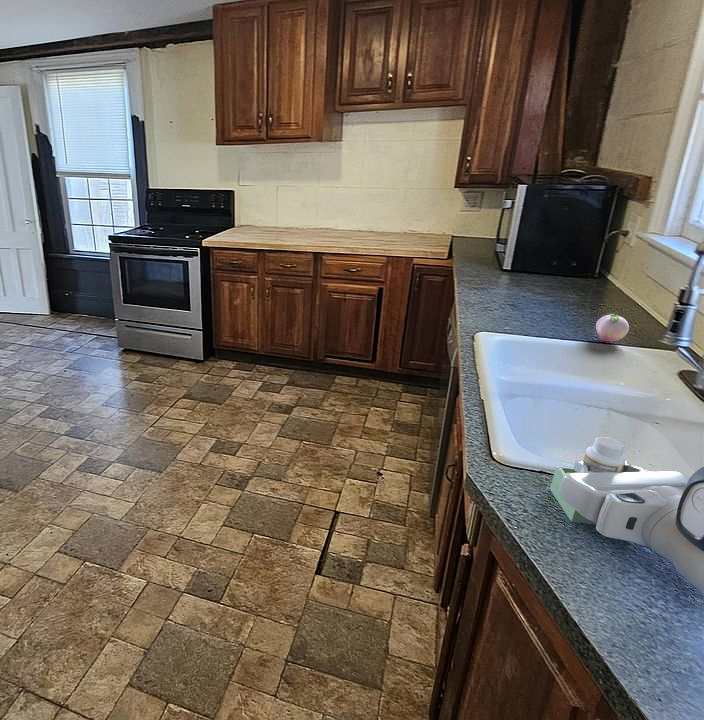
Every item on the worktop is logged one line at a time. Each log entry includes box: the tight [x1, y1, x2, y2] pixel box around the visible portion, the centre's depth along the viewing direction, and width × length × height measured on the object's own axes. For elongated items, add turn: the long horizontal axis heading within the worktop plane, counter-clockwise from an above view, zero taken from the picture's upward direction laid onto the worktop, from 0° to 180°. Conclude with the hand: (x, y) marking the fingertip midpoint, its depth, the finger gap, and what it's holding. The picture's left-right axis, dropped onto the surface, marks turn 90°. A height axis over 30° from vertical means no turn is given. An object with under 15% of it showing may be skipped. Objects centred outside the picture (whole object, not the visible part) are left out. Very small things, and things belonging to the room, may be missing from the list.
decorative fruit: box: [595, 312, 630, 343], centre depth 167 cm, size 9×8×10 cm
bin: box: [549, 465, 597, 526], centre depth 91 cm, size 9×9×5 cm
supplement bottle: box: [582, 436, 627, 473], centre depth 89 cm, size 6×6×10 cm
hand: (598, 464), depth 89 cm, fingers closed on supplement bottle, 5 cm apart
